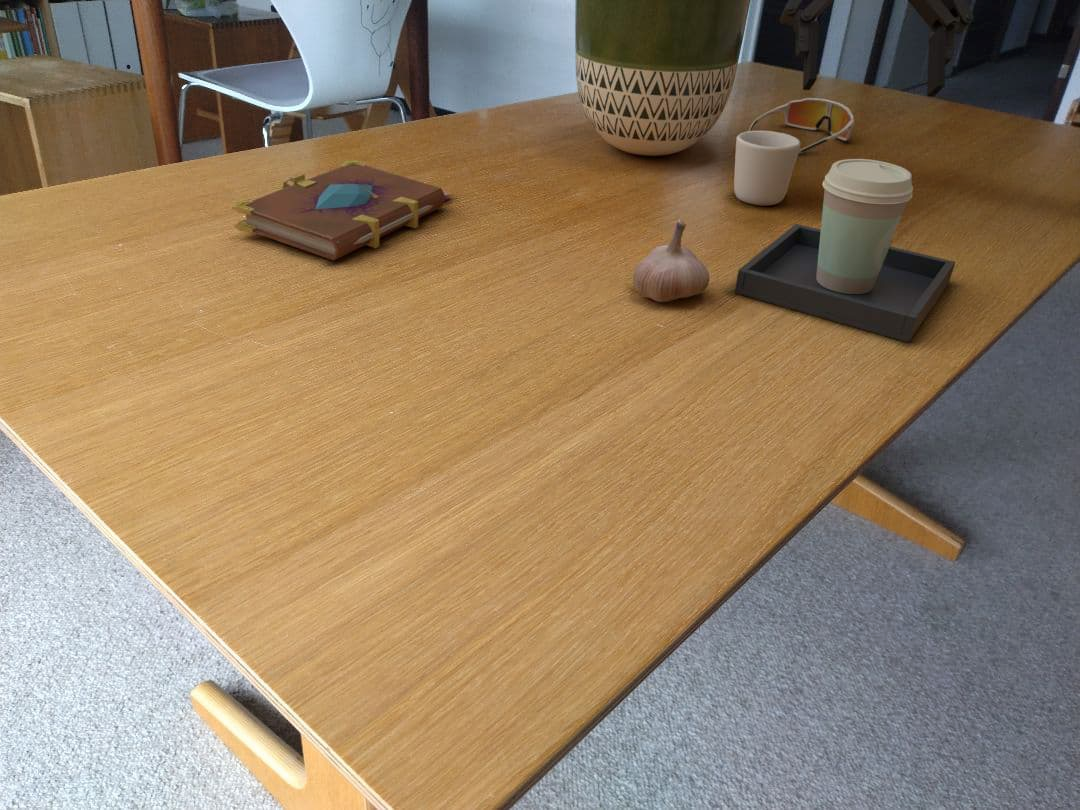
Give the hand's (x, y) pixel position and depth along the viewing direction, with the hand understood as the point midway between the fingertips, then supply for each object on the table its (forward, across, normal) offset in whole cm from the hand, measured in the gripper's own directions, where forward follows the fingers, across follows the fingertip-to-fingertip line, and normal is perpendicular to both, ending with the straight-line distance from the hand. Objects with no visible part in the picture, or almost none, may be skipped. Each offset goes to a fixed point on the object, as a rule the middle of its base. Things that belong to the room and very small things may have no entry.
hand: (872, 88), depth 95 cm
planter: (-5, +21, -36) cm, 43 cm away
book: (+15, +58, -9) cm, 60 cm away
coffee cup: (+22, +3, +2) cm, 22 cm away
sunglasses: (-12, -4, -45) cm, 47 cm away
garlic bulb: (+25, +21, +5) cm, 33 cm away
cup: (+6, +7, -21) cm, 23 cm away
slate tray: (+23, +3, +2) cm, 23 cm away
